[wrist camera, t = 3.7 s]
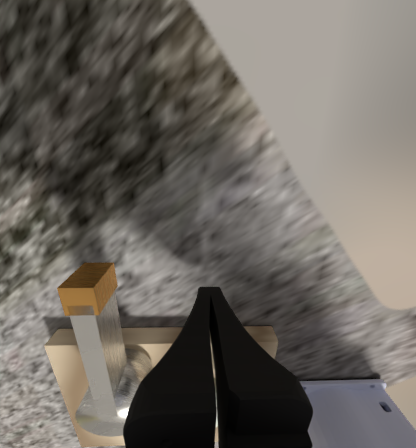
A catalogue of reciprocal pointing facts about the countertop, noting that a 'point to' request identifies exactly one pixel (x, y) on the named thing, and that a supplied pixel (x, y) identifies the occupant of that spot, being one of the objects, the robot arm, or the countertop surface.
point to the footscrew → (102, 349)
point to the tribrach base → (133, 338)
